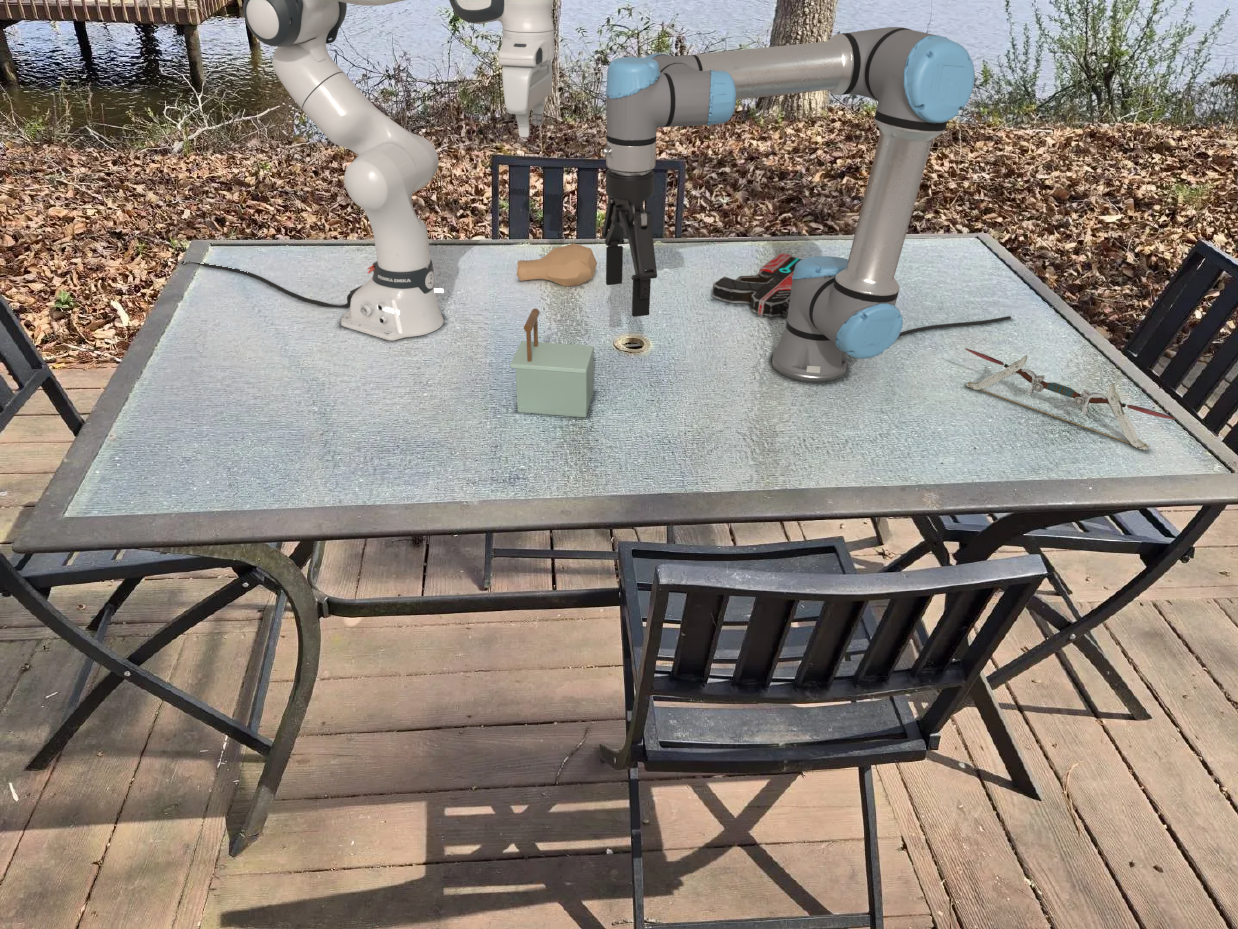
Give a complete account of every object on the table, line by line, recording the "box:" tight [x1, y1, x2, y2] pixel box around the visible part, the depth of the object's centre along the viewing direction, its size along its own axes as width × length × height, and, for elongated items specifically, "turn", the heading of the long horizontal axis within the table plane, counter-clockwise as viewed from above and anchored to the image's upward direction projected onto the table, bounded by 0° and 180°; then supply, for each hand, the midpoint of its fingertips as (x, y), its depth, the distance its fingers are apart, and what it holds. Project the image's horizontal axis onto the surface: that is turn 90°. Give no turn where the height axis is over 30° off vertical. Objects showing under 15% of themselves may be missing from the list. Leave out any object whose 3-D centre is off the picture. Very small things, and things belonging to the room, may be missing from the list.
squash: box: [516, 242, 598, 287], centre depth 216 cm, size 11×20×9 cm, turn 90°
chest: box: [515, 350, 595, 418], centre depth 165 cm, size 13×10×9 cm
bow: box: [964, 347, 1177, 451], centre depth 165 cm, size 39×2×10 cm, turn 47°
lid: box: [509, 307, 595, 373], centre depth 161 cm, size 14×10×8 cm
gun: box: [711, 252, 803, 318], centre depth 215 cm, size 4×31×19 cm
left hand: (531, 130), depth 161 cm, fingers open, 8 cm apart
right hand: (626, 299), depth 146 cm, fingers open, 13 cm apart
